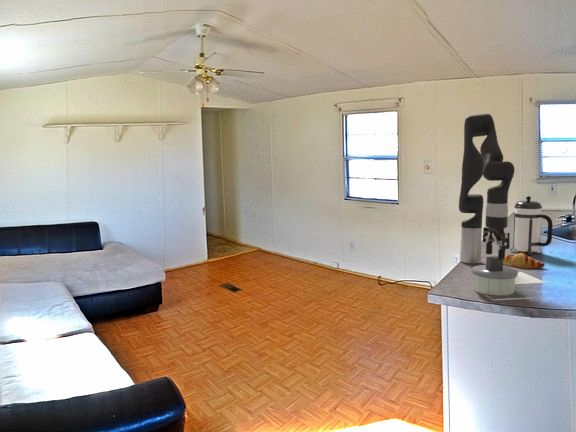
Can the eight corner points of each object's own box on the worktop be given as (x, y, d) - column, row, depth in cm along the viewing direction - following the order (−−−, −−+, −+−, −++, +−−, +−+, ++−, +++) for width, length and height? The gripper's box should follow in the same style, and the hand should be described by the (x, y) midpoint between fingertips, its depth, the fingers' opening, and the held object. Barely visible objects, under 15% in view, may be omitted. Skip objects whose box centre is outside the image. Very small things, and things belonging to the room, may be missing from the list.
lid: (464, 268, 173) (464, 253, 173) (502, 267, 175) (502, 252, 174) (485, 280, 158) (485, 263, 157) (527, 277, 159) (527, 261, 158)
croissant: (492, 271, 207) (490, 258, 203) (498, 258, 213) (496, 245, 209) (543, 277, 193) (541, 264, 189) (547, 263, 199) (546, 249, 195)
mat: (486, 275, 188) (486, 273, 188) (521, 273, 190) (521, 272, 190) (508, 285, 173) (508, 284, 172) (546, 283, 174) (546, 282, 174)
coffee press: (512, 255, 223) (515, 197, 218) (508, 249, 238) (510, 194, 233) (551, 257, 217) (554, 197, 213) (543, 250, 232) (546, 194, 228)
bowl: (467, 286, 173) (467, 269, 172) (500, 284, 174) (501, 267, 173) (485, 297, 160) (486, 279, 159) (522, 295, 161) (522, 277, 160)
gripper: (477, 212, 170) (476, 253, 172) (497, 217, 156) (495, 261, 158) (495, 212, 170) (494, 252, 172) (517, 217, 156) (515, 260, 158)
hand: (495, 256), depth 165 cm, fingers open, 8 cm apart
